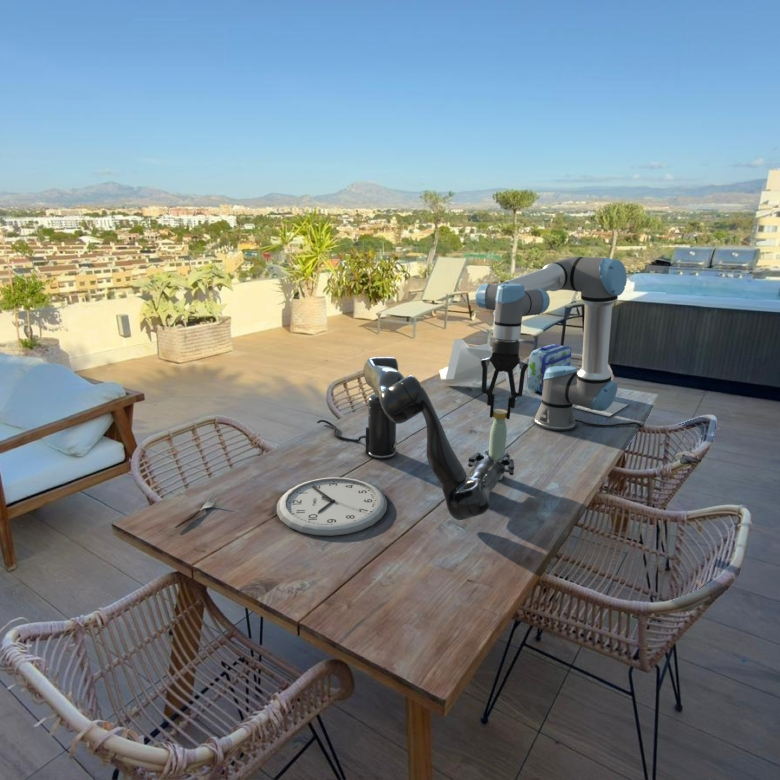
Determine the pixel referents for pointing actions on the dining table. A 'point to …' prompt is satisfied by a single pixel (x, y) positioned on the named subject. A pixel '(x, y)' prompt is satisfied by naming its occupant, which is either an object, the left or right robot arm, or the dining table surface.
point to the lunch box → (545, 363)
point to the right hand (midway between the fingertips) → (499, 416)
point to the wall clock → (331, 506)
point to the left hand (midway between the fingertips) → (498, 454)
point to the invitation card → (609, 411)
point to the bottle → (497, 440)
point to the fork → (206, 505)
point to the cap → (499, 413)
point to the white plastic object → (470, 364)
